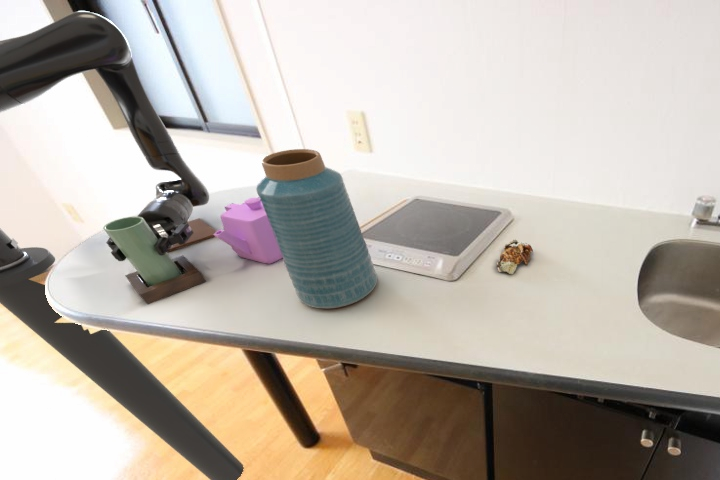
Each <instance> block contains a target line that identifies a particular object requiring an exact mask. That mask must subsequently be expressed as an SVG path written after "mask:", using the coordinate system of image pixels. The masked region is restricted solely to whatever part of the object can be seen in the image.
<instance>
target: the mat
mask: <svg viewBox="0 0 720 480" xmlns="http://www.w3.org/2000/svg"><path fill="white" fill-rule="evenodd" d="M187 223H188V224H189V226H190V227H191V229H192V231H193V232H194V233H193V234H192V235H191V237H190V238H189V239H188V240H187V241H186V243H185V244H182V245H179V244H178V243H176V244H175V246H174V247H171V248H170V249H169V251H168V252H167V253H170V252H172V251H175V250H179V249H182V248H184V247H187V246H190V245H194V244H197V243H200V242H202V241H206V240H208V239H211V238H215V236H214V235H213V234H214V233H216V232H217V231H218V230H216V229H214V228H213V227H211V226H210V225H209V224H207V223H206V222H205V221H204V220H202V219H201V218H199V217H198V218H195V219H192V220H188V222H187Z"/></svg>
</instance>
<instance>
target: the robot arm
mask: <svg viewBox="0 0 720 480" xmlns="http://www.w3.org/2000/svg"><path fill="white" fill-rule="evenodd" d="M132 56H133V55H132V50H131V46H130V44H129V42H128V40H127V38H126V37H125V35H124V34H123V32H122V31H121V29H119V28H118V26H116V25H115V24H114V23H113V22H112V21H111V20H109V19H108V18H106V17H104V16H102V15H100V14H98V13H94V12H90V11H86V10H78V11H74V12H70V13H69V14H66V15H65V16H63V17H61V18H59V19H58V20H56V21H52V23H50V24H48V25H45V26H43V27H41V28H38V29H37V30H35V31H32V32H29V33H27V34H24V35H20V36H16V37H11V38H6V39H3V40H0V114H1V113H4V112H7V111H9V110H12V109H15V108H17V107H19V106H23V105H26V104H28V103H30V102H32V101H34V100H36V99H37V98H39V97H40V96H42V95H44V94H45V93H47V92H49V91H50V90H51V89H53V88H55V86H57V85H58V84H60V83H61V82H63V81H64V80H66V79H68V78H71V77H72V76H73V77H74V76H77V75H79V74H82V73H87V72H89V71H92V70H95V71H96V73H97V74H98V75H99V77H100V78H101V80H102V81H103V82H104V84H105V85H106V87H107V89H108V90H109V92H110V94H111V95H112V96H113V98H114V100H115V102H116V104H117V106H118V108H119V111H120V112H121V115H122V116H123V119H124V121H125V123H126V125H127V127H128V130H129V131H130V133H131V136H132V137H133V139H134V141H135V143H136V144H137V147H138V148H139V150H140V151H141V153H142V155H143V156H144V158H145V160H146V162H147V164H148V165H149V167H150V168H151V169H153V170H155V171H163V172H164V171H165V172H172V173H173V174H175V175H176V176H177V177H179V178H177V179H170V180H163V181H160V182H158V183H156V185H155V187H154V188H155V189H154V190H155V197H154V199H152V200H151V201H149V203H147V204H146V205H145V207H143V209H142V210H141V211H140V212H139V213H138V214H137V216H138V217H142V218H143V219H144V220H145V221H146V223H147V224H148V226H149V227H150V228H151V230H152V231H153V233H154V234H155V236H156V237H157V238H158V241H157V242H156V244H155V245H154V248H155V250H156V251H157V252H158V254H159V255H165V254H166V252H167V253H169V252H168V251H169V249H170V248H171V247H174V246H175V244H176V243H178V244H179V245H182V244H185V243H186V241H187V240H188V239H189V238H190V237H191V235H192V234H193V233H194V232H193V231H192V229H191V227H190V226H189V224H188V223H187V222H188V221H189V219H190V218H191V216H192V214H193V211H194V208H195V207H202V206H205V205H207V204H208V203H209V201H210V194H209V191H208V188H207V187H206V186H205V185H204V183H203V182H202V181H201V179H200V178H199V177H198V176H197V175H196V173H194V172H193V171H192V170H191V168H190V166H189V165H188V164H187V162H185V160H184V159H183V157H182V156H181V154H180V151H179V150H178V148H177V146H176V144H175V142H174V140H173V138H172V136H171V134H170V133H169V131H168V129H167V128H166V126H165V124H164V122H163V121H162V119H161V117H160V116H159V113H158V112H157V110H156V109H155V107H154V105H153V103H152V102H151V99H150V98H149V97H148V94H147V93H146V91H145V88H144V86H143V84H142V80H141V79H140V76H139V74H138V71H137V69H136V65H135V62H134V59H133V57H132ZM105 243H106V245H107V246H108V247H109V249H111V251H110V254H111V255H112V256H113V257H114V259H115V260H117V261H118V262H125V260H126V259H127V258H126V256H125V255H124V254H123V253H122V251H121V250H120V249H119V248H118V246H117V245H116V244H115V243H114V241H113V240H112V239H111V238H110V237H108V239H107V241H106V242H105ZM18 244H19V242H17V241H16V239H14V238H11V237H10V236H9V235H8V234H7V233H6V232H5V231H4V230H3V229H2V228H1V227H0V272H3V271H7V270H10V269H12V268H15V267H17V266H19V265H21V264H23V263H25V262H26V261H27V260H28V259H29V255H28V254H27V253H26V252H24V251H23V250H22V249H21V247H20V246H19V245H18Z"/></svg>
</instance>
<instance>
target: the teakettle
mask: <svg viewBox="0 0 720 480" xmlns="http://www.w3.org/2000/svg"><path fill="white" fill-rule="evenodd" d="M224 209H225V211H224V212H223V213H221V214H220V220H221V224H222V227H223V229H218V230H216V231H217V232H216V233H214V234H213V235H214V238H215V237H216V238H217V239H219V240H221V241H222V242H224V243H225V244H227V245H229V246H230V247H231V249H232V250H233V252H234V253H235V254H236V255H238V257H240V258H243V259H247V260H250V261H253V262H259V263H263V264H269V265H270V264H273V263H275V262H278V261H279V260H282V259H283V257H282V254H281V251H280V249H279V246H278V244H277V241H276V239H275V236H274V233H273V231H272V229H271V226H270V223H269V221H268V218H267V216H266V212H265V211H264V207H263V205H262V202H261V201H260V198H259V196H258V197H250V198H247V199H245V200H244V202H243V203H241V204H239V203H230V204H228V205H225V206H224Z"/></svg>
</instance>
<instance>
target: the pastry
mask: <svg viewBox="0 0 720 480" xmlns="http://www.w3.org/2000/svg"><path fill="white" fill-rule="evenodd" d="M513 244H514V245H513ZM512 245H513V246H512ZM533 252H534V249H533V247H532V246H531V244H528V243H527V242H525V243H523V242H522V241H518V240H517V239H516V238H515V239H513V240H512V241H509V243H506V244H505V245H504V247H503V251H502V252H501V253H500V255H499V259H498V261H497V262H496V269H497V271H498V272H500V273H501V272H506V273H508V274H509V275H514V273H515V271H517V267H518V265H520V264H521V263H522V262H524V263H525V265H526V266H527V265H528V264H529V261H530V260H531V256H530V255H531V253H533Z"/></svg>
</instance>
